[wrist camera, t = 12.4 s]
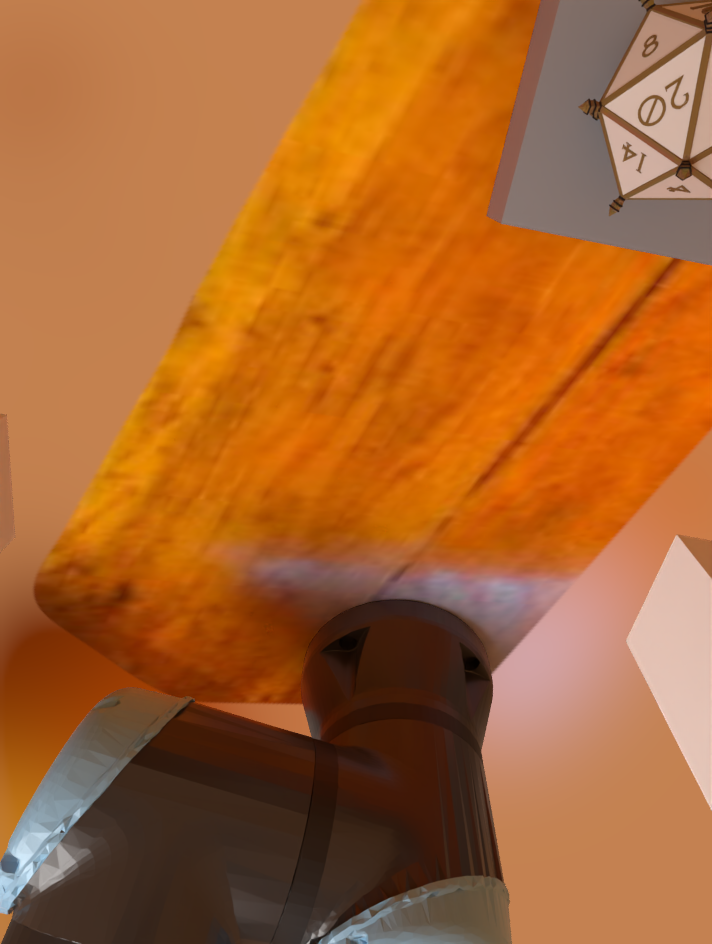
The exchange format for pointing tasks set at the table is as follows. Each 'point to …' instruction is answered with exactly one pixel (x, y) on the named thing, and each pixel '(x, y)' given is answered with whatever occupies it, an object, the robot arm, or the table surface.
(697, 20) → the game die
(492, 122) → the table surface
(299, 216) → the table surface
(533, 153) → the gray block
